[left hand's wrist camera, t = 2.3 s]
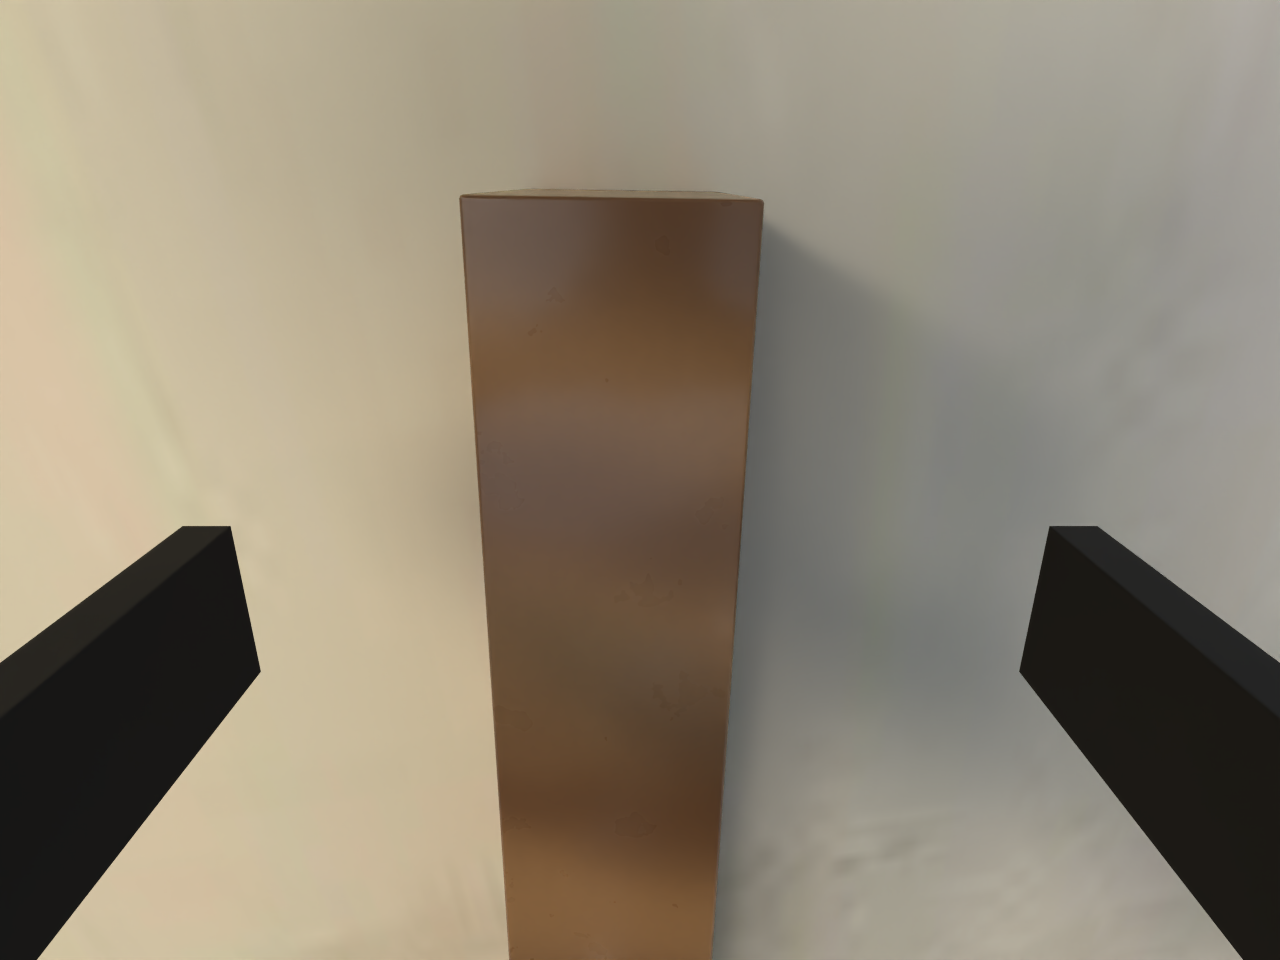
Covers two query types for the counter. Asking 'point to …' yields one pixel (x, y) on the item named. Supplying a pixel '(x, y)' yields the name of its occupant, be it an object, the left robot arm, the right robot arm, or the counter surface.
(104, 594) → the left robot arm
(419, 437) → the counter surface
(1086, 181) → the counter surface
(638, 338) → the bar
